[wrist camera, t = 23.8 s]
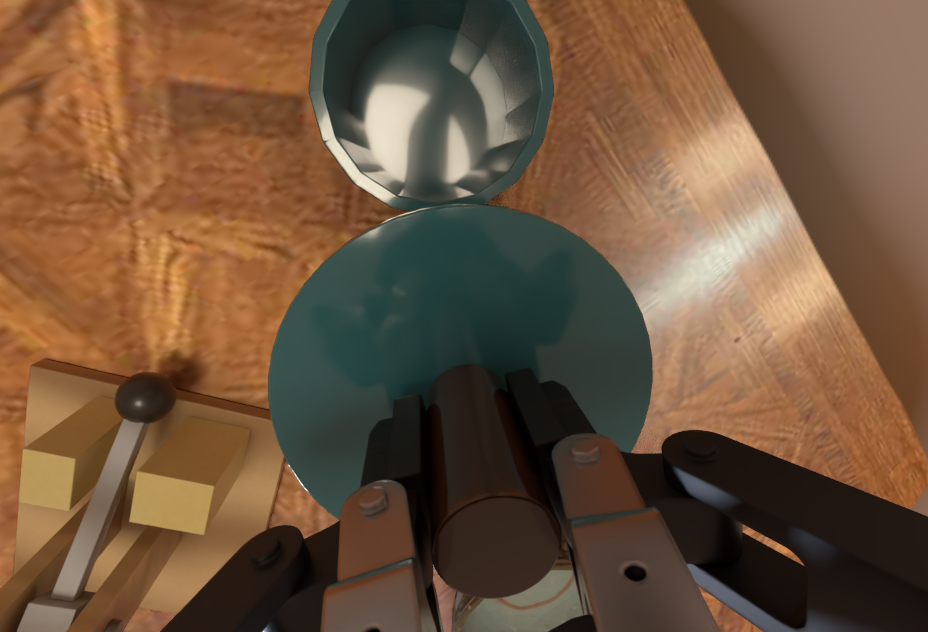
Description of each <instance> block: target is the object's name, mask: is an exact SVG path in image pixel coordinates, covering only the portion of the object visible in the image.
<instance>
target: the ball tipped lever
mask: <svg viewBox="0 0 928 632" xmlns="http://www.w3.org/2000/svg"><path fill="white" fill-rule="evenodd" d="M175 402H176V389H175V387H174V385H173V383H172V382H171V381H170V380H169V379H168V378H167V377H165V376H163V375H161V374H158V373H153V372H143V373H139V374H135V375H133V376H131V377H129V378H127V379H126V380H125V381H124V382H123V383H122V384H121V385H120V386H119V387H118V389H117V391H116V394H115V398H114V404H115V408H116V410H117V412H118V413H119V415H120V416H121V417H122V418H123V421H122V424H121V426H120V429H119V431H118V433H117V436H116V438H115V441H114V443H113V446H112V448H111V451H110V453H109V455H108V458H107V460H106V463H105V465H104V468H103V470H102V472H101V475H100V477H99V480H98V482H97V485H96V487H95V490H94V492H93V494H92V497H91V499H90V502H89V504H88V507H87V509H86V511H85V514H84V516H83V519H82V521H81V524H80V526H79V529H78V531H77V533H76V536H75V538H74V541H73V543H72V546H71V548H70V550H69V553H68V555H67V558H66V560H65V563H64V565H63V568H62V570H61V572H60V575H59V577H58V580H57V582H56V585H55V587H54V588H53V589H52V590H50V591H48V592H46V593H45V594H43V595H41V596H40V597H38V598H36V599H34V600H33V601H31V602H29V603H28V605H27V608H26V610H25V613H24V615H23V617H22V620H21V622H20V624H19V627H18V629H17V632H66V631H67V630H68V629H69V627H70V626H71V625H72V623H73V622H74V621H75V620H76V618H77V617H78V616H79V614H80V613H81V612H82V610H83V609H84V608H85V606H86V605H87V604H88V602H89V601H90V600H91V599H92V597H93V596H94V595H95V593H96V592H89V591H84V590H85V587H86V585H87V582H88V580H89V577H90V575H91V572H92V569H93V567H94V564H95V562H96V559H97V557H98V554H99V552H100V549H101V547H102V544H103V542H104V539H105V537H106V534H107V531H108V529H109V526H110V524H111V521H112V519H113V516H114V514H115V511H116V509H117V506H118V504H119V501H120V498H121V496H122V493H123V491H124V488H125V486H126V483H127V481H128V478H129V476H130V473H131V471H132V468H133V466H134V463H135V460H136V458H137V455H138V453H139V450H140V448H141V445H142V443H143V440H144V438H145V435H146V433H147V430H148V427H149V425H150V423H154V422H157V421H159V420H161V419H163V418H164V417H165V416H167V415H168V414H169V413H170V412H171V410H172V409H173V407H174V405H175Z"/></svg>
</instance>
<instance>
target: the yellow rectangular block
mask: <svg viewBox="0 0 928 632" xmlns="http://www.w3.org/2000/svg"><path fill="white" fill-rule="evenodd" d="M122 421H123V418H122V417H121V416H120V415H119V413H118V412H117V410H116V408H115V404H114V399H111V398H106V397H102V396H97V397H96V398H94V399H93V400H91V401H90V402H89V403H87V404H86V405H84V406H83V407H82V408H80V409H79V410H77V411H76V412H74V413H73V414H72V415H70V416H69V417H67V418H66V419H64V420H63V421H62V422H60V423H59V424H57V425H56V426H55V427H53V428H52V429H50V430H49V431H47V432H46V433H45V434H43V435H42V436H40V437H39V438H38V439H36V440H35V441H33V442H32V443H30V444H29V445H28V446H26V447H25V448H23V454H22V466H21V479H20V491H19V502H21V503H27V504H32V505H38V506H43V507H49V508H55V509H60V510H66V511H70V510H71V509H72V508H73V507H74V506H75V505H76V504H77V503H78V502H79V501H80V500H81V499H82V498H83V497H84V496H85V495H86V494H87V493H88V492H89V491H90V490H91V489H92V488H93V487H94V486H95V485H96V484H97V482H98V480H99V477H100V475H101V472H102V470H103V468H104V465H105V463H106V460H107V458H108V455H109V453H110V451H111V448H112V446H113V443H114V441H115V438H116V436H117V433H118V431H119V429H120V426H121V424H122Z"/></svg>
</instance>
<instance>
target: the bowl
mask: <svg viewBox="0 0 928 632" xmlns="http://www.w3.org/2000/svg"><path fill="white" fill-rule="evenodd" d="M561 532H562V545H561V550H560V554H559V557H558V559H557V561H556V563H555V565H554V567H553V568H552V569H551V571H550V572H549V573H548V574H547V575H546V576H545V577H544V578H543V579H542V580H541V581H540V582H539V583H537V584H536V585H534V586H533V587H531V588H529V589H527V590H526V591H524V592H521V593H519V594H516V595H512V596H509V597H504V598H496V599H483V598H476V597H471V596H468V595H465V594H462V593H460V592H458V591H456V596H455V601H454V606H453V613H452V630H451V632H548V631H550V630H552V629H553V628H555V627H557V626H559V625H561V624H562V623H564V622H566V621H568V620H570V619H572V618H575V617H579V616H583V615H582V611H581V606H580V602H579V597H578V593H577V589H576V584H575V580H574V575H573V571H572V567H571V562H570V558H569V552H568V547H567V541H566V537H565V535H564V532H563V530H562V529H561Z"/></svg>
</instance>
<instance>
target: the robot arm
mask: <svg viewBox="0 0 928 632" xmlns="http://www.w3.org/2000/svg"><path fill="white" fill-rule="evenodd" d="M505 380H506V385H507V390H508V394H509V397H510V400H511V402H512V405H513V407H514V410H515V412H516V415H517V417H518V420H519V423H520V425H521V428H522V430H523V433H524V435H525V438H526V441H527V443H528V446H529V448H530V451H531V453H532V456H533V459H534V461H535V464H536V466H537V469H538V471H539V474H540V477H541V479H542V481H543V483H544V486H545V488H546V491H547V493H548V496H549V498H550V501H551V504H552V506H553V509H554V511H555V514H556V516H557V519H558V521H559V524H560V528H561V529H562V530H563V532H564V535H565V537H566V541H567V547H568V552H569V558H570V562H571V567H572V571H573V575H574V580H575V584H576V589H577V593H578V597H579V602H580V606H581V611H582V615H583V616H579V617H575V618H572V619H570V620H568V621H566V622H564V623H562V624H561V625H559V626H557V627H555V628H553V629H552V630H550V631H548V632H721V631H720V629H719V627H718V625H717V623H716V621H715V619H714V617H713V616H712V614H711V612H710V610H709V608H708V606H707V604H706V602H705V600H704V598H703V596H702V594H701V592H700V590H699V588H698V586H699V587H701V588H702V589H703V590H705V591H706V592H708V593H709V594H711V595H712V596H713V597H715V598H716V599H718V600H719V601H721V602H722V603H723V604H725V605H726V606H728V607H729V608H731V609H732V610H733V611H735V612H736V613H738V614H739V615H741V616H742V617H743V618H745V619H746V620H748V621H749V622H751V623H752V624H753V625H755V626H756V627H758V628H759V629H761V630H762V631H764V632H928V517H927V516H925V515H922V514H920V513H917V512H915V511H912V510H910V509H907V508H905V507H902V506H900V505H897V504H894V503H892V502H889V501H887V500H884V499H882V498H879V497H877V496H874V495H872V494H869V493H867V492H864V491H862V490H859V489H856V488H854V487H851V486H849V485H846V484H844V483H841V482H839V481H836V480H834V479H831V478H829V477H826V476H824V475H821V474H819V473H816V472H813V471H811V470H808V469H806V468H803V467H801V466H798V465H796V464H793V463H791V462H788V461H786V460H783V459H781V458H778V457H776V456H773V455H770V454H768V453H765V452H763V451H760V450H758V449H755V448H753V447H750V446H748V445H745V444H743V443H740V442H738V441H735V440H732V439H730V438H727V437H725V436H722V435H720V434H717V433H713V432H709V431H703V430H688V431H682V432H678V433H675V434H673V435H671V436H669V437H668V438H667V439H666V440H665V441H664V442H663V445H662V453H660V454H634V453H627V452H622V451H620V450H619V448H618V446H617V445H616V443H615V442H614V441H612V440H611V439H609V438H607V437H605V436H603V435H599V434H597V433H596V431H595V430H594V428H593V427H592V425H591V424H590V422H589V420H588V419H587V417H586V416H585V414H584V413H583V411H582V410H581V408H580V407H579V406H578V404H577V402H576V401H575V399H573V396H572V395H571V393H570V392H569V390H568V389H567V387H566V386H564V385H562V384H560V383H558V382H556V381H554V380H551V381H547V382H543V383H539V382H538V380H537V378H536V377H535V375H534V373H533V371H532V369H531V368H525V369H521V370H517V371H512V372H508V373H505ZM429 505H430V500H429V471H428V441H427V412H426V408H425V404H424V401H423V397H422V395H421V393H417V394H413V395H409V396H404V397H400V398H396V399H394V407H393V417H392V418H388V419H383V420H379V421H378V423H377V424H376V425H375V426H374V428H373V429H372V430H371V432H370V434H369V439H368V447H367V450H366V457H365V462H364V467H363V473H362V479H361V484H360V488H359V489H358V490H356V491H355V492H354V493H352V494H351V495H350V496H349V497H348V499H347V500H346V501H345V503H344V504H343V506H342V509H341V516H340V520H339V521H338V522H337V523H335V524H334V525H332V526H330V527H328V528H326V529H324V530H322V531H320V532H318V533H316V534H314V535H312V536H310V537H308V538H305V539H304V538H303V536H302V533H301V531H300V530H299V529H298V528H296V527H294V526H288V525H284V526H277V527H273V528H270V529H268V530H265V531H263V532H261V533H259V534H257V535H256V536H254V537H253V538H251V539H250V540H249V541H247V542H246V543H245V544H244V545H243V546H242V547H241V548H240V549H239V550H238V551H237V552H236V553H235V554H234V555H233V556H232V557H231V558H230V559H229V560H228V561H227V562H226V563H225V565H224V566H223V567H222V568H221V569H220V570H219V571H218V572H217V573H216V574H215V575H214V576H213V577H212V578H211V579H210V580H209V581H208V582H207V583H206V584H205V585H204V587H203V588H202V589H201V590H200V591H199V592H198V593H197V594H196V595H195V596H194V597H193V598H192V599H191V600H190V601H189V602H188V603H187V604H186V605H185V606H184V607H183V608H182V610H181V611H180V612H179V613H178V614H177V615H176V616H175V617H174V618H173V619H172V620H171V621H170V622H169V623H168V624H167V625H166V626H165V627H164V628H163V629H162V630H161V631H160V632H444V631H443V626H442V621H441V615H440V610H439V604H438V599H437V594H436V589H435V585H434V582H433V562H432V557H431V536H430V506H429ZM742 524H744V525H746V526H748V527H749V528H751V529H753V530H755V531H757V532H759V533H761V534H762V535H764V536H766V537H768V538H770V539H772V540H774V541H776V542H777V543H779V544H781V545H783V546H785V547H786V548H788V549H789V550H791V551H792V552H793V553H794V554H795V555H796V556H797V557H798V558H799V559H800V560H801V561H802V563H803V564H804V566H803V565H801V564H799V563H797V562H795V561H794V560H792V559H790V558H788V557H786V556H785V555H783V554H781V553H779V552H777V551H775V550H774V549H772V548H770V547H768V546H766V545H765V544H763V543H761V542H759V541H757V540H755V539H754V538H752V537H750V536H748V535H746V534H745V533H743V532H742ZM697 585H698V586H697Z"/></svg>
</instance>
